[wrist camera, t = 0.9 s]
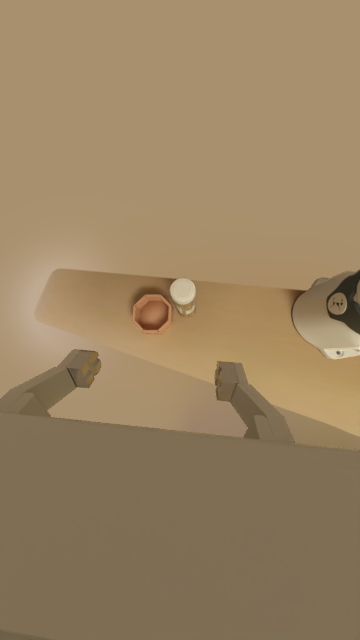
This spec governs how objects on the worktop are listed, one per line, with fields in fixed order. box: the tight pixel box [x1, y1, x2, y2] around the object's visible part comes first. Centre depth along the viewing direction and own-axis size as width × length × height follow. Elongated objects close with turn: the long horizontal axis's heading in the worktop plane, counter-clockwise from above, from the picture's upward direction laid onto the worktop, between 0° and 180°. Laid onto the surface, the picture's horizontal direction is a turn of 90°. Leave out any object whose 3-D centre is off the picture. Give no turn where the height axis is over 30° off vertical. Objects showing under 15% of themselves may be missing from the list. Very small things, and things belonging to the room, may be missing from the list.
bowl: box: [132, 295, 173, 334], centre depth 41 cm, size 9×9×4 cm
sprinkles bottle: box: [170, 278, 196, 317], centre depth 35 cm, size 5×5×14 cm
